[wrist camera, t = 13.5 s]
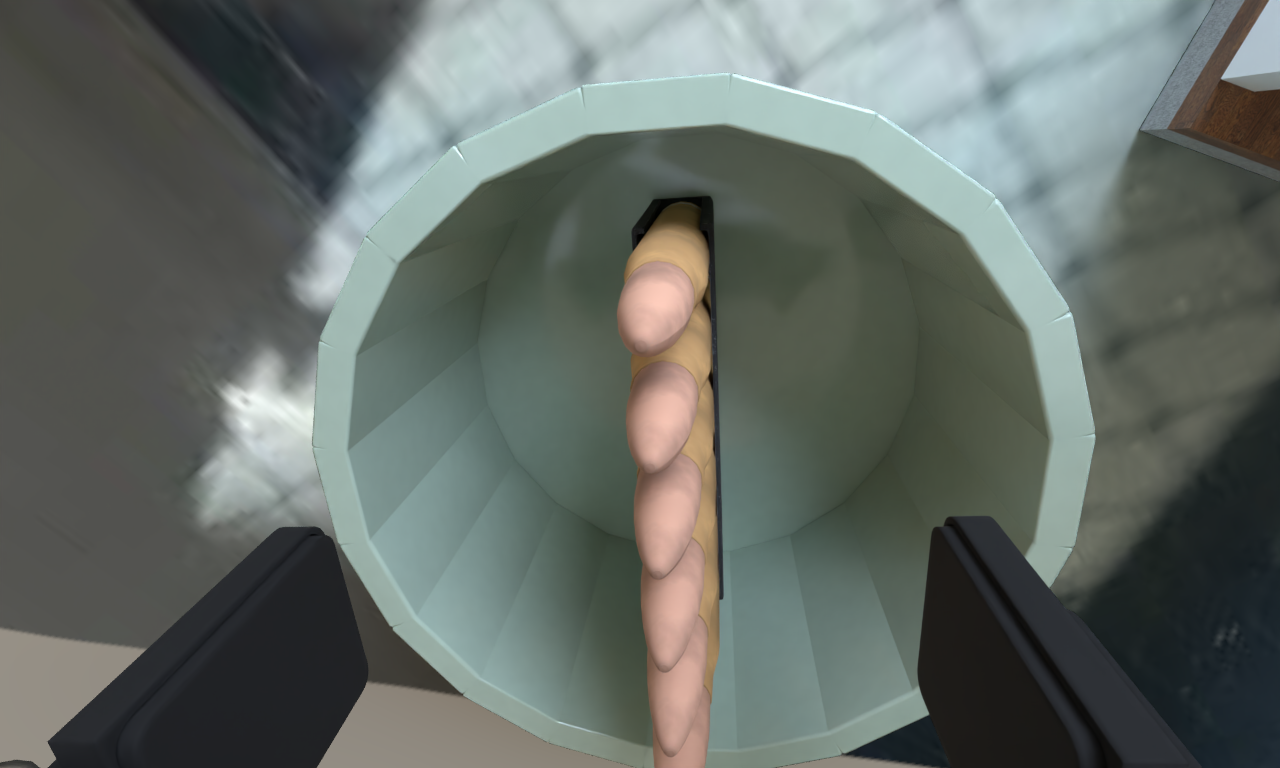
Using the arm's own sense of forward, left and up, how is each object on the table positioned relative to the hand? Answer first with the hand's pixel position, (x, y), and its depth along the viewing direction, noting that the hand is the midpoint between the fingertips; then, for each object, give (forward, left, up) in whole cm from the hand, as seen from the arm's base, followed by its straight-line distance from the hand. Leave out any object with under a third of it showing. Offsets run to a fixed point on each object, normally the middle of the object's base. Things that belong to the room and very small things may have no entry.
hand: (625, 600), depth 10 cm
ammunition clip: (+1, 0, -12) cm, 12 cm away
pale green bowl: (+1, 0, -12) cm, 12 cm away
